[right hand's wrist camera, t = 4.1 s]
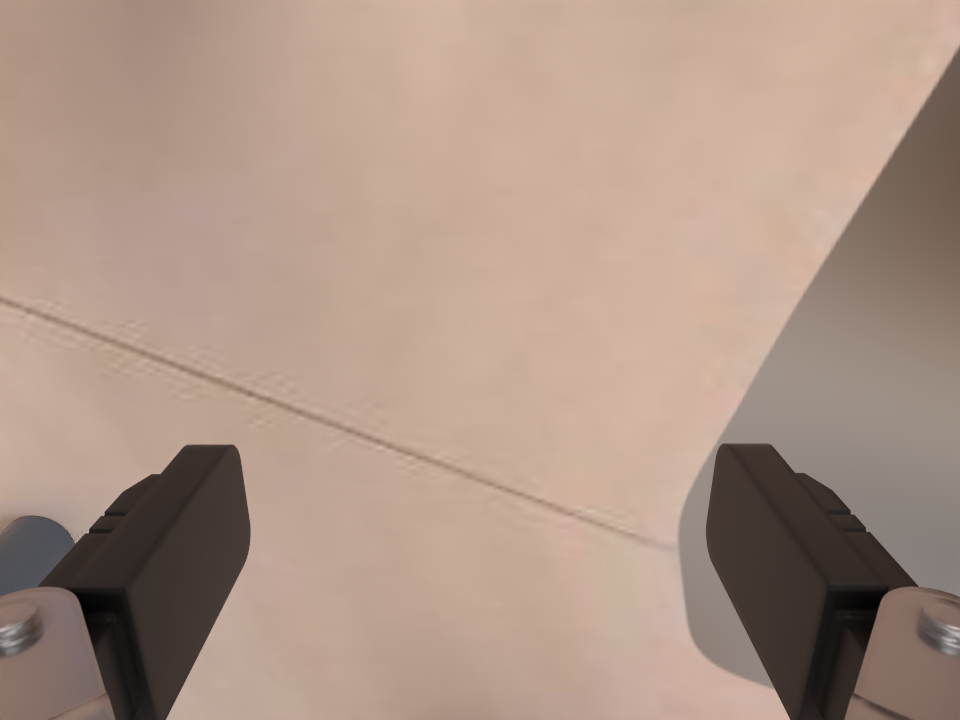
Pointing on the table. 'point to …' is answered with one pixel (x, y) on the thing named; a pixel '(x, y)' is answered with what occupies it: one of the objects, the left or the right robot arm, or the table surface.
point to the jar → (30, 552)
